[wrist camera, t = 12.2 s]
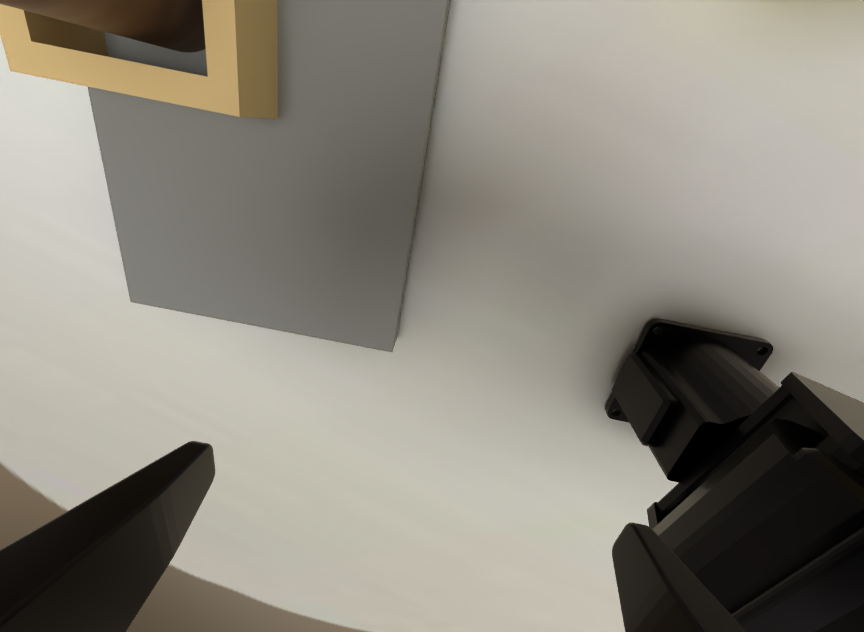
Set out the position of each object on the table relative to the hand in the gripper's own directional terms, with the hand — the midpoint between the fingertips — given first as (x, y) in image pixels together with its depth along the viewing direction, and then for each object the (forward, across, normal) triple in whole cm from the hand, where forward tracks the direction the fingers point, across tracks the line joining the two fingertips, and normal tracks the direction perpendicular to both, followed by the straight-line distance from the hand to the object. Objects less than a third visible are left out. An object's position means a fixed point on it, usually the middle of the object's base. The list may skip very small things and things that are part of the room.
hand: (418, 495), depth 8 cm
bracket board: (+13, +9, -6) cm, 17 cm away
